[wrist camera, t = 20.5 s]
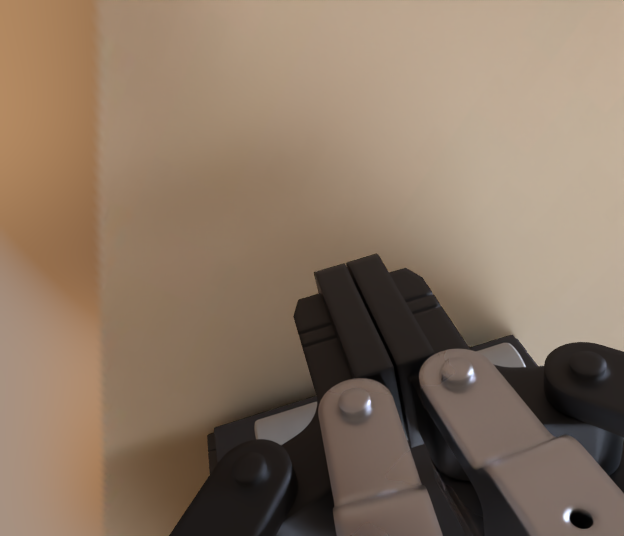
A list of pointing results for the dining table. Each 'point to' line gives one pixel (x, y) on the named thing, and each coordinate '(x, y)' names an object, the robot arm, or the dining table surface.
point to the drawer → (299, 414)
